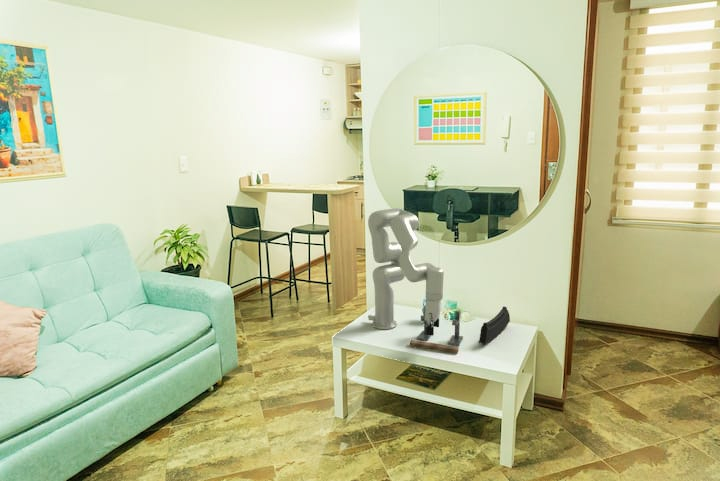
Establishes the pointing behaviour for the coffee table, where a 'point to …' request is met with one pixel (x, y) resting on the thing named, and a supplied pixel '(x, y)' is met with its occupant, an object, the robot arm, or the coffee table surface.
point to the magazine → (494, 326)
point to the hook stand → (455, 338)
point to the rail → (434, 346)
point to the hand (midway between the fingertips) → (432, 330)
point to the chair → (424, 307)
